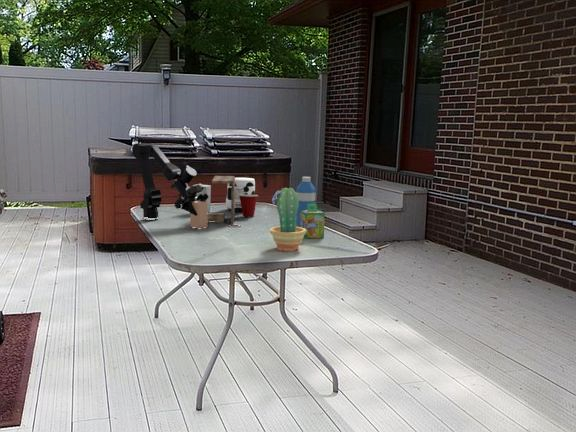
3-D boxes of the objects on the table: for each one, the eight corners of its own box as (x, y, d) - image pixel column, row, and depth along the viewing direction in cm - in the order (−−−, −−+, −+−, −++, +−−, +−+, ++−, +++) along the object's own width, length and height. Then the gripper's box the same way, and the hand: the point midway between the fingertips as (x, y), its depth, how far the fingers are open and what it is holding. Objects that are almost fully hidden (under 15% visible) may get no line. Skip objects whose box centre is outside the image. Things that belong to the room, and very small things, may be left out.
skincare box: (192, 213, 321) (191, 185, 318) (197, 211, 327) (197, 184, 324) (206, 214, 318) (205, 186, 316) (211, 212, 324) (211, 184, 322)
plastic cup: (259, 215, 320) (260, 193, 318) (256, 218, 310) (257, 195, 308) (240, 214, 321) (240, 192, 319) (236, 217, 311) (236, 195, 309)
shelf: (203, 224, 290) (203, 180, 286) (207, 216, 313) (207, 175, 310) (233, 224, 291) (233, 181, 287) (234, 216, 314) (234, 176, 311)
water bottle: (313, 230, 280) (314, 178, 275) (293, 229, 281) (295, 177, 277) (316, 227, 289) (317, 176, 284) (297, 226, 290) (298, 175, 286)
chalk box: (305, 238, 261) (305, 206, 258) (299, 234, 270) (299, 202, 267) (324, 238, 263) (325, 205, 261) (318, 234, 272) (319, 202, 270)
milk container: (246, 207, 347) (246, 176, 344) (261, 211, 333) (262, 179, 330) (220, 209, 337) (220, 178, 334) (235, 213, 323) (235, 181, 320)
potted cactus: (285, 242, 252) (286, 184, 248) (313, 248, 243) (315, 188, 238) (261, 248, 240) (261, 187, 236) (290, 254, 231) (291, 191, 227)
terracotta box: (190, 227, 281) (190, 201, 279) (198, 226, 285) (198, 200, 283) (199, 229, 278) (199, 203, 275) (207, 227, 282) (207, 201, 280)
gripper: (178, 180, 272) (196, 206, 268) (205, 177, 287) (222, 201, 283) (166, 195, 278) (183, 221, 273) (193, 191, 293) (210, 215, 289)
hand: (201, 214), depth 280 cm, fingers closed on terracotta box, 6 cm apart
